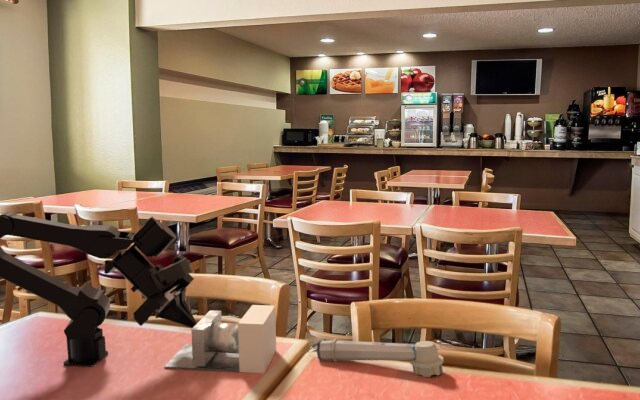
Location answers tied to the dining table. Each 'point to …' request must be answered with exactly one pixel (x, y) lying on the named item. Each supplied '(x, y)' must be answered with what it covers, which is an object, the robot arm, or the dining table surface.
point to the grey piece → (213, 338)
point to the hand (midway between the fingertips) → (194, 325)
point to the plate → (216, 363)
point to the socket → (257, 338)
